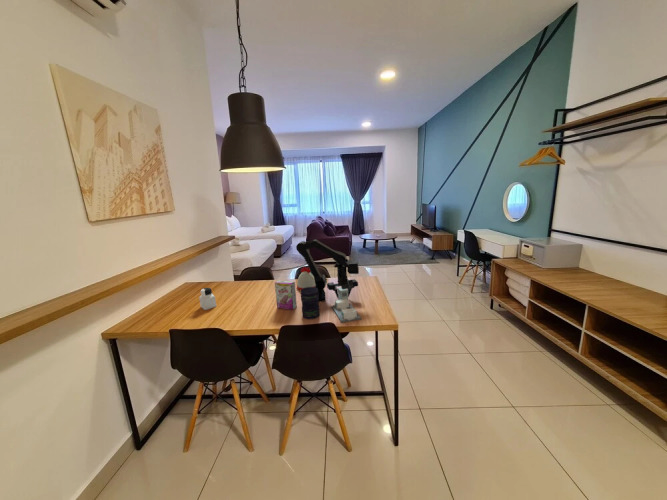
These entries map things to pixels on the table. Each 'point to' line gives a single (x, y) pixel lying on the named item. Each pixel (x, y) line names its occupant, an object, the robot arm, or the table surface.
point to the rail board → (339, 313)
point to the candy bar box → (285, 294)
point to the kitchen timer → (305, 279)
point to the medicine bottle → (207, 299)
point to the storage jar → (310, 303)
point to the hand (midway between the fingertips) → (343, 297)
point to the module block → (342, 293)
